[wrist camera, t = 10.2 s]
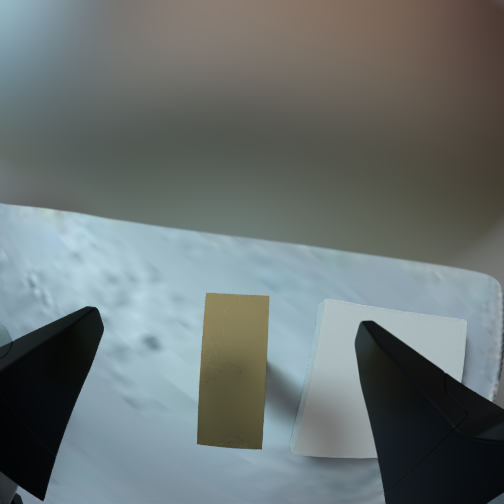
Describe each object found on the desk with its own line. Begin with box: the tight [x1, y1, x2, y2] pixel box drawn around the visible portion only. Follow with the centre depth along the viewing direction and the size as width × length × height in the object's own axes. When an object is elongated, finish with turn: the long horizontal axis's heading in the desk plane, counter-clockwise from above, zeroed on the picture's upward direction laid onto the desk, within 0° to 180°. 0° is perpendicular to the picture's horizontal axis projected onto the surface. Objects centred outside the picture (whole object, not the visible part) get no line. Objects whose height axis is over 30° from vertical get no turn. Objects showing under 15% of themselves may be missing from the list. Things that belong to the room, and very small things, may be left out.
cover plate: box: [289, 298, 467, 458], centre depth 18 cm, size 12×14×2 cm
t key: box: [197, 293, 269, 449], centre depth 15 cm, size 6×2×12 cm, turn 177°
